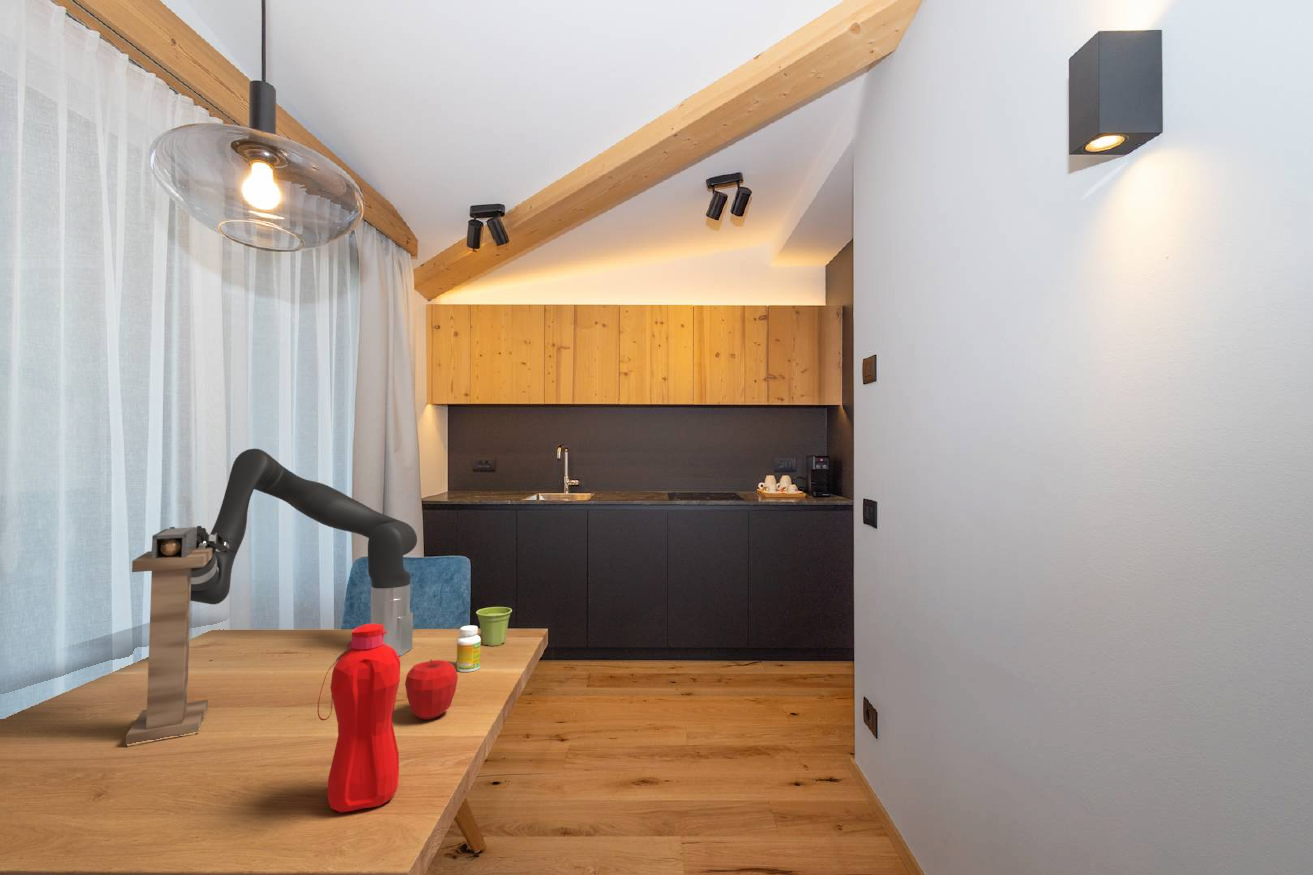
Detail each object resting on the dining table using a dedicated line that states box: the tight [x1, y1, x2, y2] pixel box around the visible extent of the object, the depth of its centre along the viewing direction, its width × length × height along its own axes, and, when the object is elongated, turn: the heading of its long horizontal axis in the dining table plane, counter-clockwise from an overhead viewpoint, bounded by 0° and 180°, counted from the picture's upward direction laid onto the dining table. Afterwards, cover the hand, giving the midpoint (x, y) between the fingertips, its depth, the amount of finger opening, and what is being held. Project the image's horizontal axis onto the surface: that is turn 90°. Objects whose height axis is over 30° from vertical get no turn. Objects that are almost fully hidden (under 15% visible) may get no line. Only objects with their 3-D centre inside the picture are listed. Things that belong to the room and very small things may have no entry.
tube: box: [160, 526, 197, 555], centre depth 118 cm, size 24×3×3 cm, turn 31°
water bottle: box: [317, 623, 401, 814], centre depth 88 cm, size 9×11×25 cm
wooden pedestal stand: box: [125, 548, 212, 746], centre depth 111 cm, size 12×10×32 cm
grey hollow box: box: [151, 526, 197, 559], centre depth 112 cm, size 12×5×4 cm, turn 30°
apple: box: [404, 659, 459, 721], centre depth 116 cm, size 10×10×11 cm
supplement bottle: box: [456, 625, 482, 673], centre depth 142 cm, size 5×5×10 cm
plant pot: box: [475, 606, 513, 647], centre depth 162 cm, size 9×9×9 cm
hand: (185, 530), depth 121 cm, fingers open, 3 cm apart
